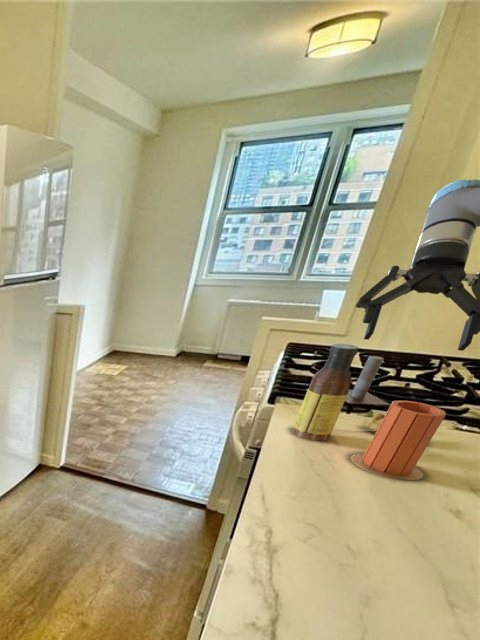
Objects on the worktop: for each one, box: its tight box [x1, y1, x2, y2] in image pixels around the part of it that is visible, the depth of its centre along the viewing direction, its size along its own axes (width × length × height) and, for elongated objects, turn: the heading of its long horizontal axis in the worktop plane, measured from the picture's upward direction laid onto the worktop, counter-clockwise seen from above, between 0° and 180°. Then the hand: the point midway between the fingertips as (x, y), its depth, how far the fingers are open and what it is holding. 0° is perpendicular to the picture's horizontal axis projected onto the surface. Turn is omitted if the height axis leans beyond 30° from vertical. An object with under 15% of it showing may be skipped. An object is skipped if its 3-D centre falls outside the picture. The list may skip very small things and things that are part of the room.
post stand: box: [345, 355, 391, 406], centre depth 117 cm, size 9×9×12 cm
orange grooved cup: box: [362, 400, 447, 475], centre depth 89 cm, size 7×7×12 cm
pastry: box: [365, 413, 386, 435], centre depth 102 cm, size 9×7×4 cm
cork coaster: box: [350, 452, 424, 481], centre depth 92 cm, size 10×10×1 cm
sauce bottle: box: [293, 343, 360, 442], centre depth 100 cm, size 7×6×20 cm
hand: (414, 341), depth 96 cm, fingers open, 13 cm apart
